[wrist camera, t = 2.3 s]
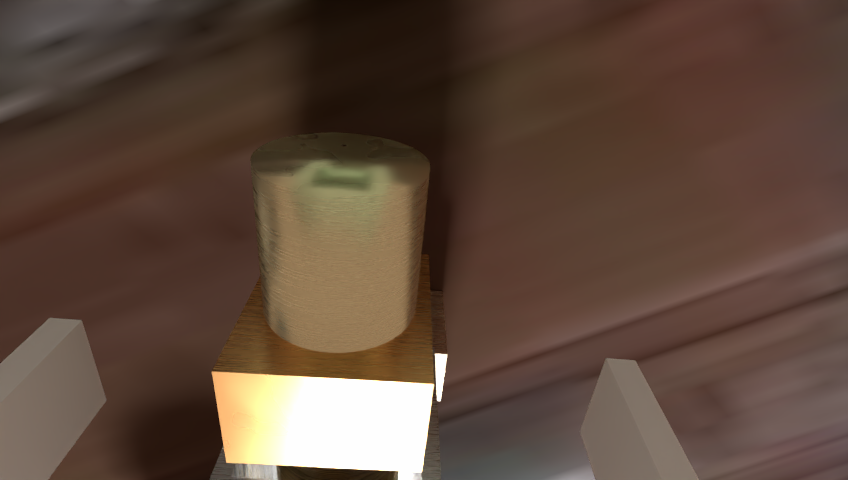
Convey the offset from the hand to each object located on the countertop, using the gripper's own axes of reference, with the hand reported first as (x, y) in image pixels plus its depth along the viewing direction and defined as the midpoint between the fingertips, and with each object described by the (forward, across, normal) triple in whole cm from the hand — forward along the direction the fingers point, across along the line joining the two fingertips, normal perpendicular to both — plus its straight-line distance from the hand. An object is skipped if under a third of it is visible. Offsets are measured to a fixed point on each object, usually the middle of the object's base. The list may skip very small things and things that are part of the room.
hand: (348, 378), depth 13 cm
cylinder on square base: (+4, 0, -5) cm, 6 cm away
